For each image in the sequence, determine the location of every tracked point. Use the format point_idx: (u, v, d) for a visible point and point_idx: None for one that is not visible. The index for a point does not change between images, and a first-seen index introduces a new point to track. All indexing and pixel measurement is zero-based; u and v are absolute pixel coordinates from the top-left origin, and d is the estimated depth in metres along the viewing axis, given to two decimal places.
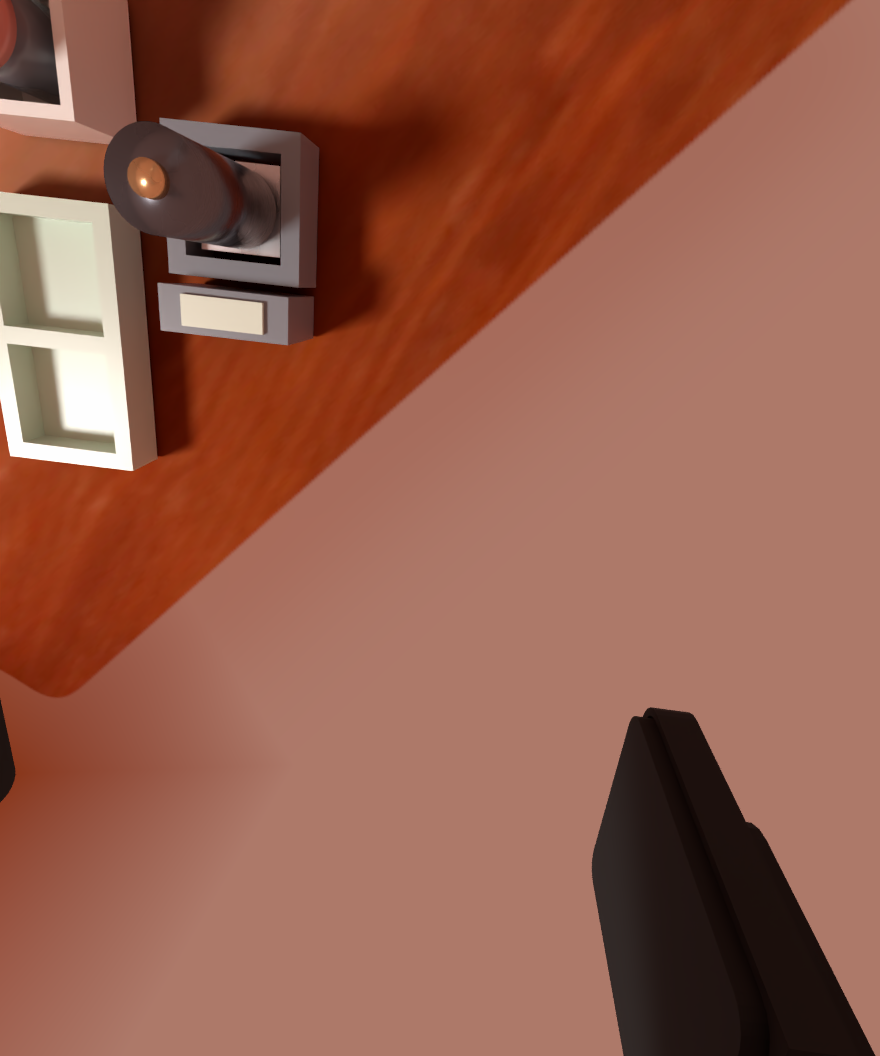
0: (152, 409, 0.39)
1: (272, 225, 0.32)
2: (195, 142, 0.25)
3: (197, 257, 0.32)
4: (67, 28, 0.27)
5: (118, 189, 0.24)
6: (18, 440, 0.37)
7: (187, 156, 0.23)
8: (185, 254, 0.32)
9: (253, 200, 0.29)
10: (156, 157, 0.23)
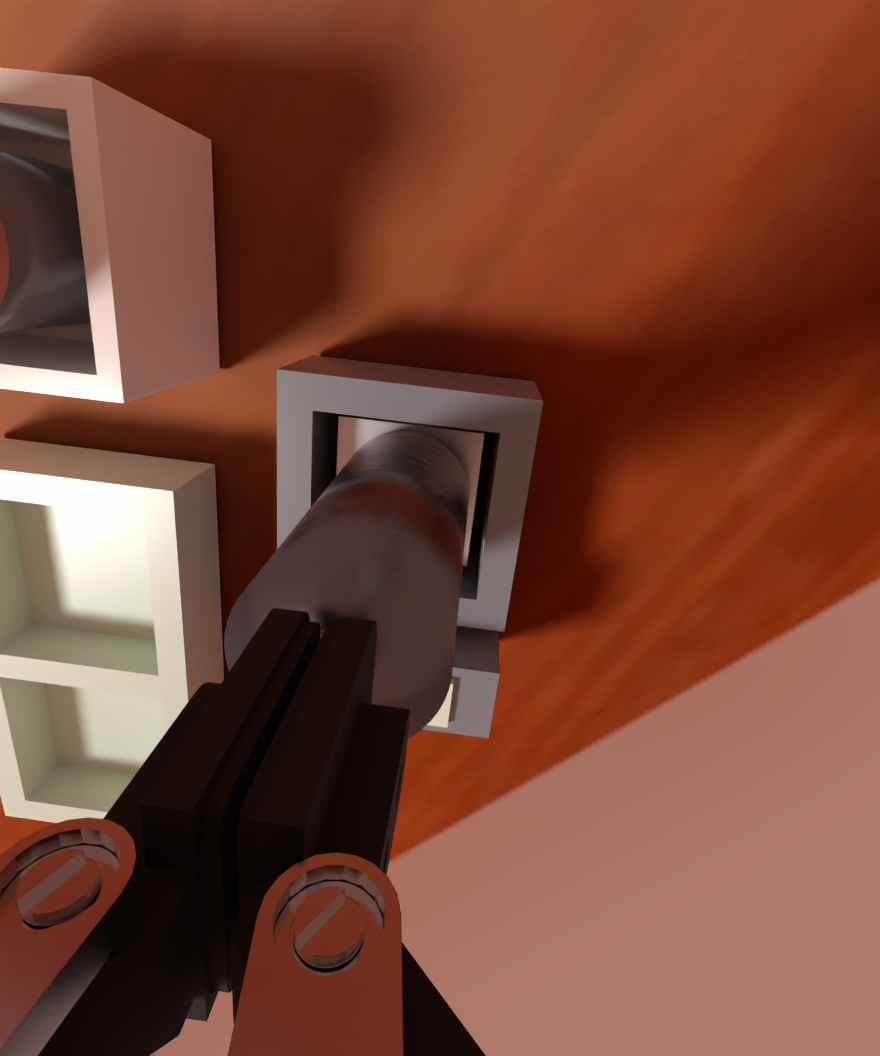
0: None
1: None
2: (414, 536, 0.11)
3: None
4: (112, 238, 0.13)
5: None
6: (17, 797, 0.24)
7: (425, 624, 0.10)
8: None
9: None
10: None
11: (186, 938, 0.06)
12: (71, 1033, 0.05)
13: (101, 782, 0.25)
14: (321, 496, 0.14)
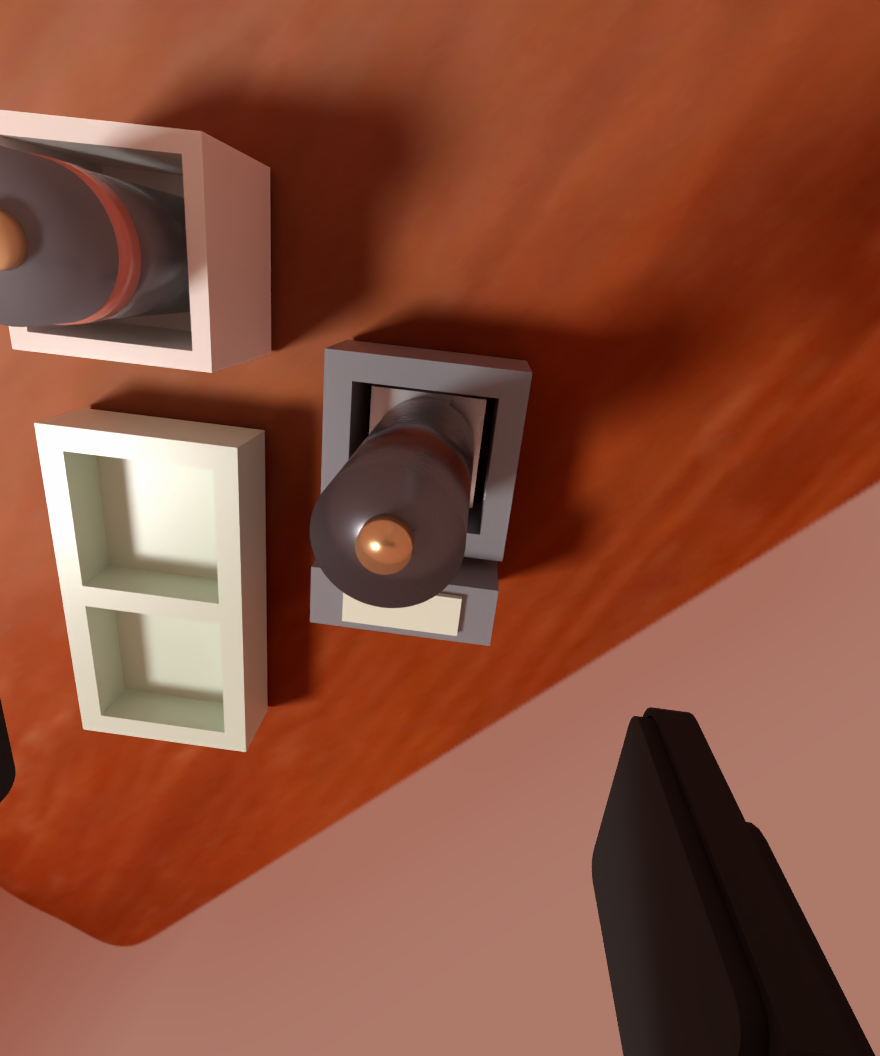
0: (266, 658, 0.30)
1: None
2: (438, 458, 0.16)
3: None
4: (209, 247, 0.18)
5: (330, 548, 0.15)
6: (94, 713, 0.28)
7: (448, 511, 0.15)
8: None
9: None
10: (397, 511, 0.15)
11: None
12: None
13: (162, 703, 0.29)
14: (366, 439, 0.19)
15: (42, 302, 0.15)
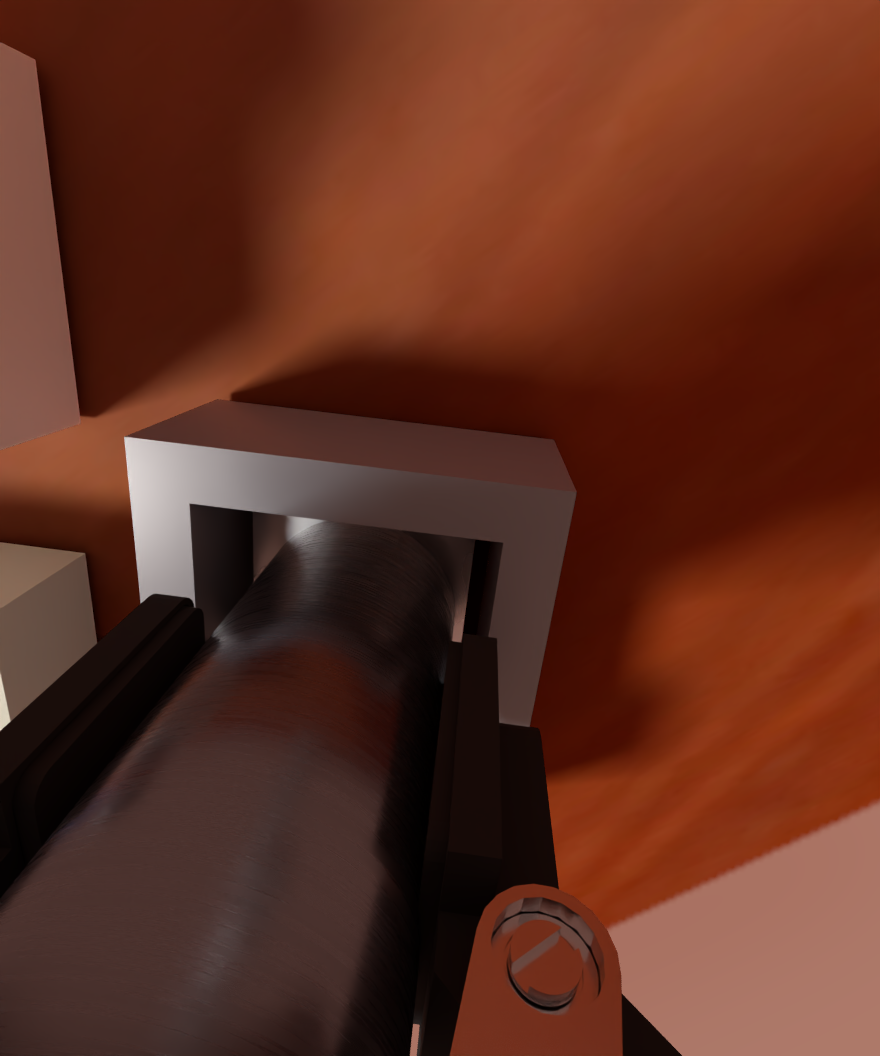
0: None
1: None
2: (312, 867, 0.05)
3: None
4: None
5: None
6: None
7: None
8: None
9: None
10: None
11: None
12: None
13: None
14: (174, 684, 0.07)
15: None
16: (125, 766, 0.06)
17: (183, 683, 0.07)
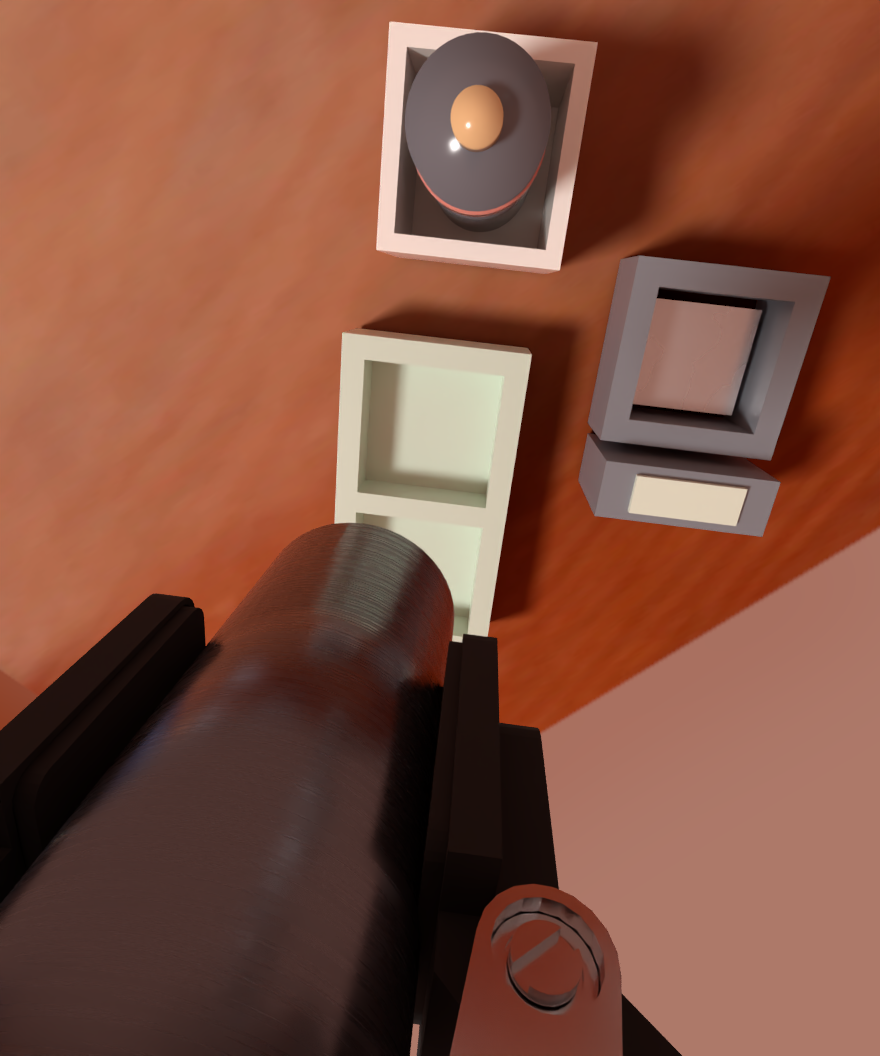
0: None
1: None
2: (312, 872, 0.05)
3: (643, 422, 0.25)
4: None
5: None
6: None
7: None
8: (628, 418, 0.25)
9: None
10: None
11: None
12: None
13: None
14: (174, 689, 0.08)
15: (501, 181, 0.17)
16: (125, 771, 0.06)
17: (183, 688, 0.07)
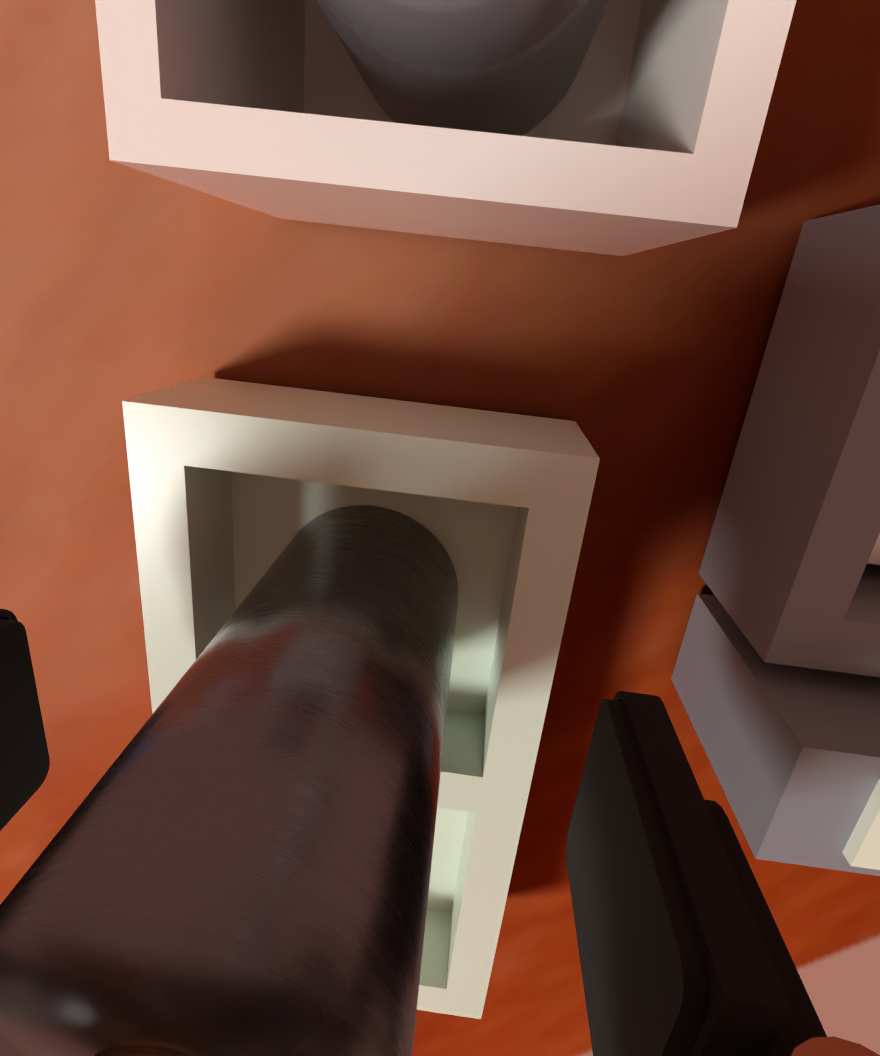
0: None
1: None
2: (341, 784, 0.06)
3: None
4: None
5: None
6: None
7: None
8: (841, 618, 0.10)
9: (448, 690, 0.10)
10: (181, 1044, 0.05)
11: None
12: None
13: None
14: (209, 646, 0.08)
15: None
16: (174, 707, 0.07)
17: (218, 643, 0.08)
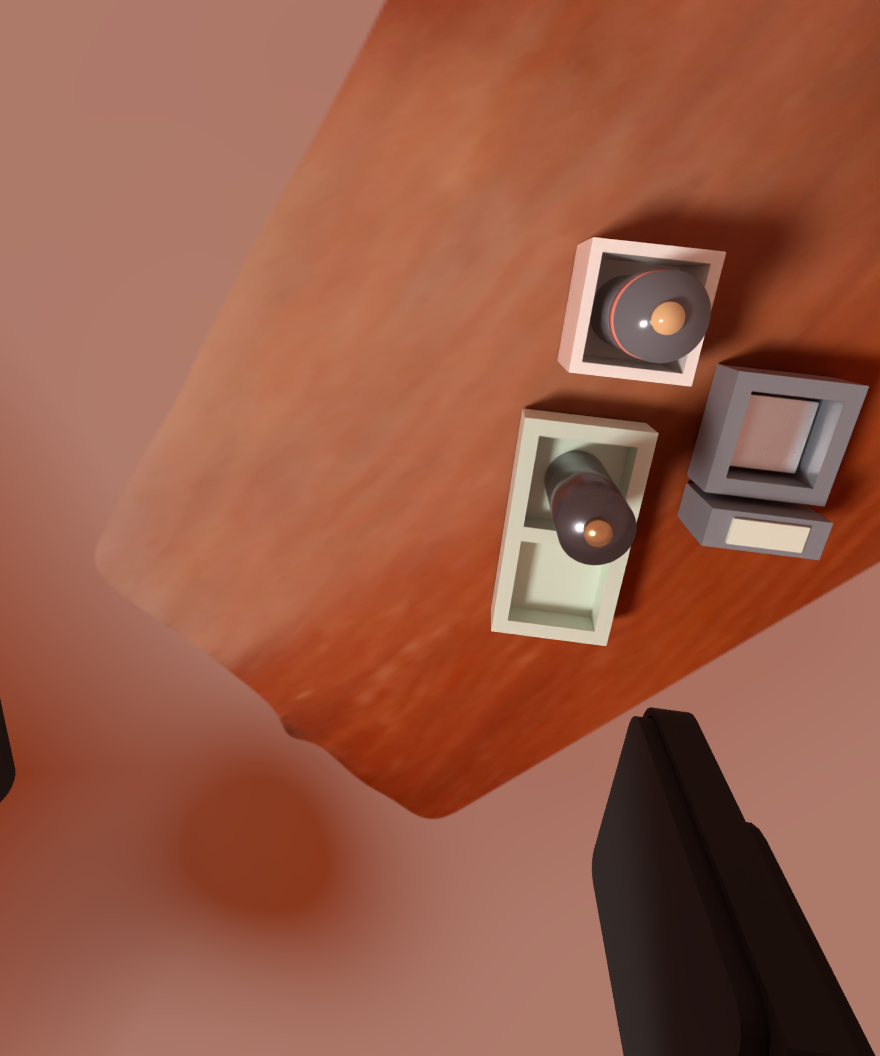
0: None
1: None
2: (615, 489, 0.32)
3: (736, 480, 0.36)
4: None
5: (566, 535, 0.31)
6: (503, 618, 0.41)
7: (628, 515, 0.30)
8: (725, 477, 0.36)
9: None
10: (603, 516, 0.30)
11: None
12: None
13: (539, 614, 0.42)
14: (563, 478, 0.34)
15: (677, 350, 0.28)
16: (573, 482, 0.33)
17: (568, 476, 0.34)
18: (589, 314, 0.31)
